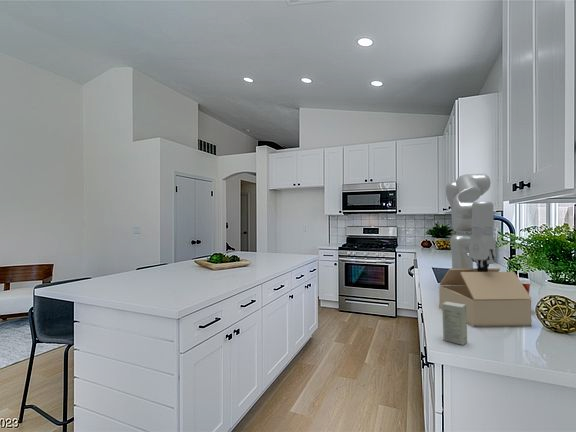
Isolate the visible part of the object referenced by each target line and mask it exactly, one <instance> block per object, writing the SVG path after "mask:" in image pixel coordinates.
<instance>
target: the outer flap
mask: <svg viewBox="0 0 576 432" xmlns="http://www.w3.org/2000/svg"><path fill="white" fill-rule="evenodd" d="M460 274H461V276H462V278H463V280H464V282H465V284H466V286H467V288H468V290H469V292H470V294H471V296H472V298H473V300H531V301H532V297H531V295H530V293H529V294H528V292H527V291H526V289H525V288H524V286H523V285H522V283H521V282H520V280H519V279H518V275H517V274H516V272H515V271H499V272H460Z"/></svg>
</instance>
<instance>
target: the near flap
mask: <svg viewBox="0 0 576 432" xmlns="http://www.w3.org/2000/svg"><path fill="white" fill-rule="evenodd" d="M460 272H477V268H475V267H473V268H468V269H452V268H449V269H448V270H447V272H446V274H445V275H444V276H443V278H442V279H441V281H440V282H439V283H438V285H439V286H450V285H466V284H465V282H464V280H463V278H462V276H461V274H460ZM488 272H501V268H500V267H499V268H497V267H496V268H495V267H492V268H491V267H490V268H489V267H488Z"/></svg>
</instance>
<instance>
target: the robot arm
mask: <svg viewBox="0 0 576 432" xmlns="http://www.w3.org/2000/svg"><path fill="white" fill-rule="evenodd" d="M491 184H492V183H491V178H490V177H489V175H487V174H486V173H474V174H473V173H471V174H462V175H460V176H459V177H457V178H456V179H455V181H450V182H448V183H447V184H446V186H445V195H446V198H447V201H448V203H449V206H450V213H451V225H452V226H451V227H452V229H453V231H454V232H458V233H457V234H454V235H452V236H450V239H449V243H450V244H449V245H450V251H451V269H468V268H474V262H475V264H476V267H477V272H488V268H489V267H490V265H493V264H494V260H495V259H496V243H495V236H494V234H495V233H494V203H493V202H491V201H478V200H479V198H480V197H481V196H483V195H484V194H485V193H487V192H488V191H489V190H490V188H491ZM449 286H466V285H449Z"/></svg>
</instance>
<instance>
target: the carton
mask: <svg viewBox="0 0 576 432" xmlns="http://www.w3.org/2000/svg"><path fill="white" fill-rule="evenodd" d="M438 288H439V289H438V290H439V292H438V293H439V295H438V299H439V300H438V302H439V303H438V304H439V306H438V307H439V308H440V309H442V304H443V303H445V302H453V303H459V304H465V305H466V318H467V325H469V326H471V327H472V328H499V327H500V328H501V327H503V328H504V327H505V328H506V327H508V328H509V327H510V328H511V327H532V299H531V300H473V298H472V296H471V294H470V292H469V290H468V288H467V286H450V285H439V287H438Z"/></svg>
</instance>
